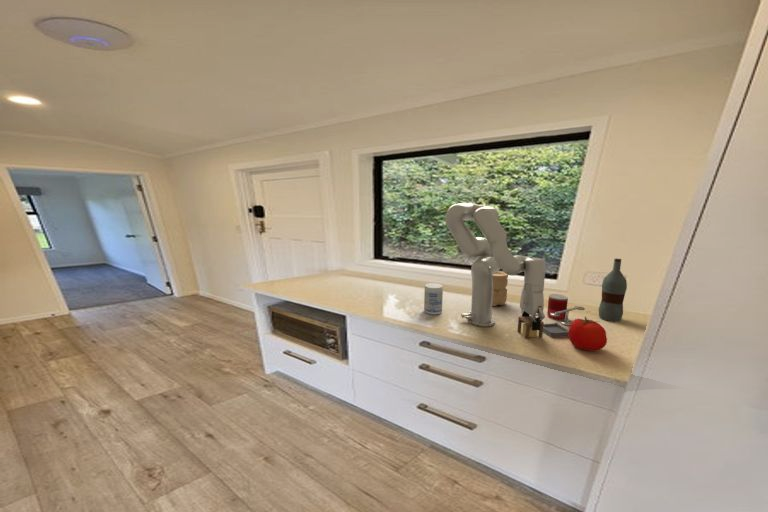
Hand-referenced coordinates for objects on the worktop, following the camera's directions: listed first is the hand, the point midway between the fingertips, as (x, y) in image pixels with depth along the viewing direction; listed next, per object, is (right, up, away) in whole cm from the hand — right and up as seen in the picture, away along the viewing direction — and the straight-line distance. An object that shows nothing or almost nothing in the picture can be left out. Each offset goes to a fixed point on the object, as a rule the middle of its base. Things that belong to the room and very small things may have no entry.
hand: (530, 325), depth 121 cm
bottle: (+47, -1, +15) cm, 49 cm away
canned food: (+23, 0, +18) cm, 29 cm away
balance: (+22, -2, +10) cm, 25 cm away
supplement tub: (-37, 0, +28) cm, 47 cm away
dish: (+12, -3, +3) cm, 13 cm away
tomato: (+16, -6, -11) cm, 21 cm away
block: (0, -4, +1) cm, 4 cm away
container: (0, +3, +39) cm, 39 cm away
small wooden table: (0, -4, +1) cm, 4 cm away
